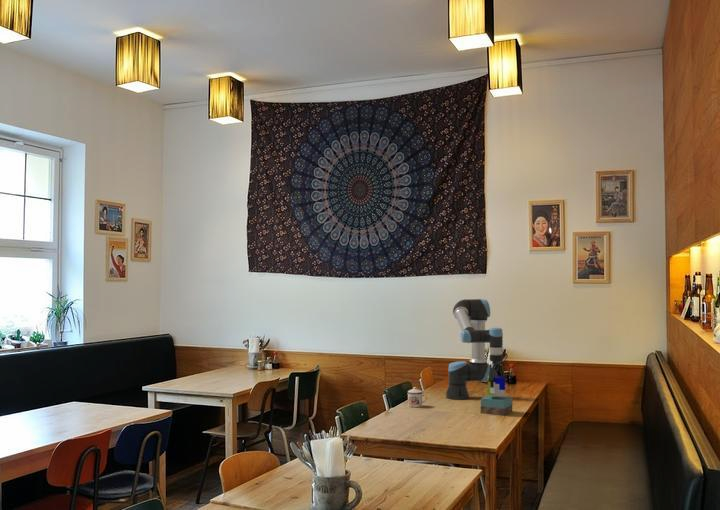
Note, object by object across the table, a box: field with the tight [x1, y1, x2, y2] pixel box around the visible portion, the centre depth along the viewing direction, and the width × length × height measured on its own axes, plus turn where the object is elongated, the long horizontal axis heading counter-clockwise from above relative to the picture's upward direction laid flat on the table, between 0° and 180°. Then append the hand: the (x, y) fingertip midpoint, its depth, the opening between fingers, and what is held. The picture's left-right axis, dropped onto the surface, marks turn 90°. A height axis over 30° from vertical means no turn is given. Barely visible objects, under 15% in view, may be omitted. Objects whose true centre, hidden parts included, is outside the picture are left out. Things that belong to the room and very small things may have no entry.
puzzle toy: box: [486, 375, 506, 396], centre depth 389 cm, size 10×10×10 cm
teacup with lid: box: [407, 386, 428, 408], centre depth 407 cm, size 12×9×12 cm
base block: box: [480, 405, 513, 417], centre depth 388 cm, size 14×14×4 cm
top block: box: [480, 394, 513, 409], centre depth 388 cm, size 14×14×4 cm
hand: (496, 391), depth 388 cm, fingers closed on puzzle toy, 12 cm apart
